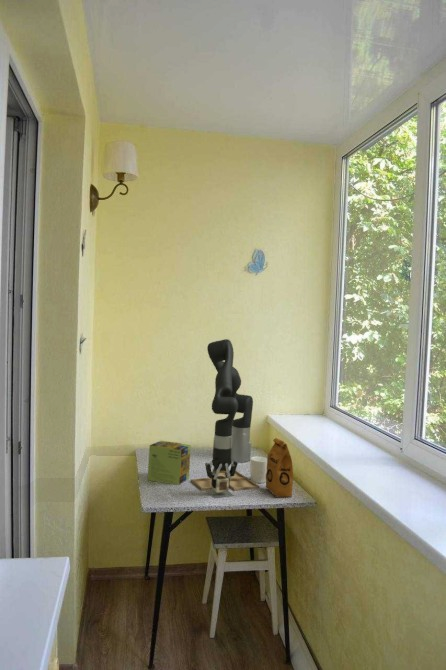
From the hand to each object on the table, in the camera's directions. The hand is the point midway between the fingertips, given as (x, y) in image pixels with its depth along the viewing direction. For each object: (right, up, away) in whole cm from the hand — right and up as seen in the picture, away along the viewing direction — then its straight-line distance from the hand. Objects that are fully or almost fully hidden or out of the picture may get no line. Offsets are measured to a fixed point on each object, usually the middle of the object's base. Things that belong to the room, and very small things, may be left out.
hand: (220, 486), depth 210 cm
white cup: (+17, -4, +20) cm, 27 cm away
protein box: (-23, -2, +15) cm, 27 cm away
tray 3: (+9, -3, +12) cm, 15 cm away
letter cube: (0, -1, 0) cm, 1 cm away
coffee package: (+25, -4, +6) cm, 26 cm away
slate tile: (0, -3, 0) cm, 3 cm away
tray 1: (-5, -2, +10) cm, 11 cm away
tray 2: (+3, -2, +23) cm, 23 cm away
